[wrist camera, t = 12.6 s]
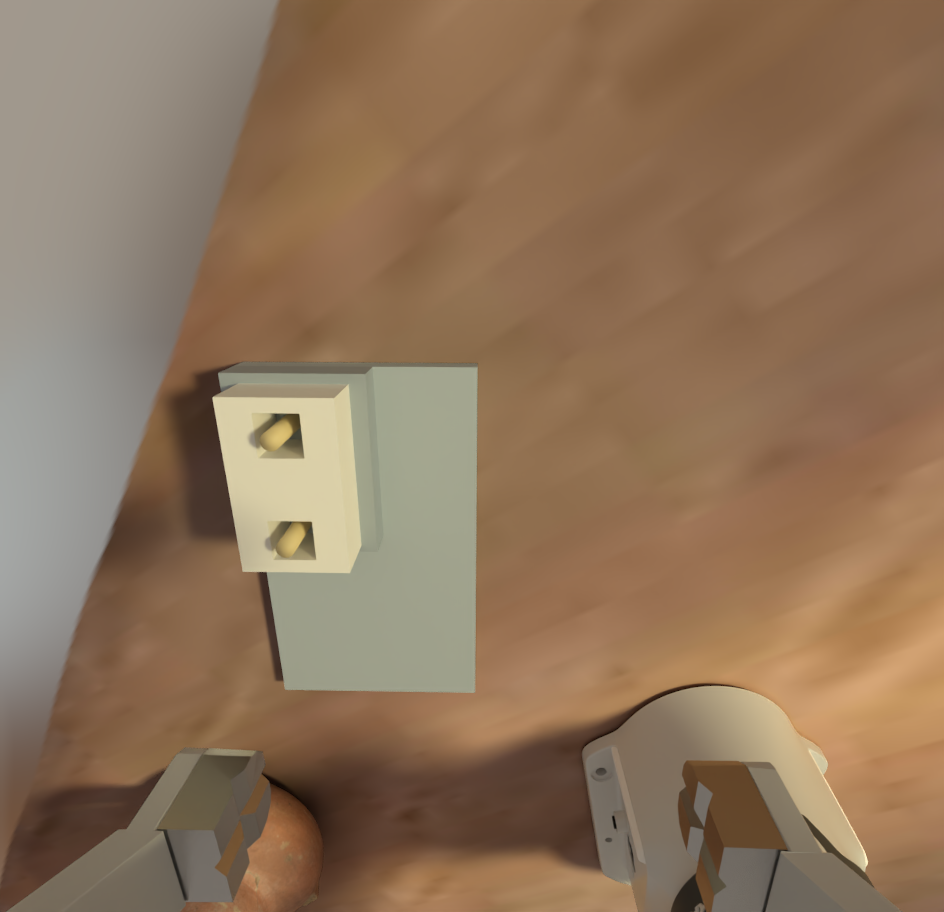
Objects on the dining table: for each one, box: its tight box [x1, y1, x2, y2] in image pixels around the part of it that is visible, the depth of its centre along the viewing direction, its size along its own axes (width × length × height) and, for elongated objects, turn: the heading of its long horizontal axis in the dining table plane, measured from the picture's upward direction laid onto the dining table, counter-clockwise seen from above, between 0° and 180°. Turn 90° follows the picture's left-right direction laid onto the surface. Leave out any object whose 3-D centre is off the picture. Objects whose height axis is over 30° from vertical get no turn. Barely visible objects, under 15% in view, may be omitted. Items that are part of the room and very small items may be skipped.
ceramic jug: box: [180, 784, 324, 912], centre depth 39 cm, size 18×14×14 cm
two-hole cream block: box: [212, 383, 361, 573], centre depth 29 cm, size 10×6×3 cm, turn 0°
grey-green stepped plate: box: [218, 362, 477, 693], centre depth 32 cm, size 24×14×7 cm, turn 0°
